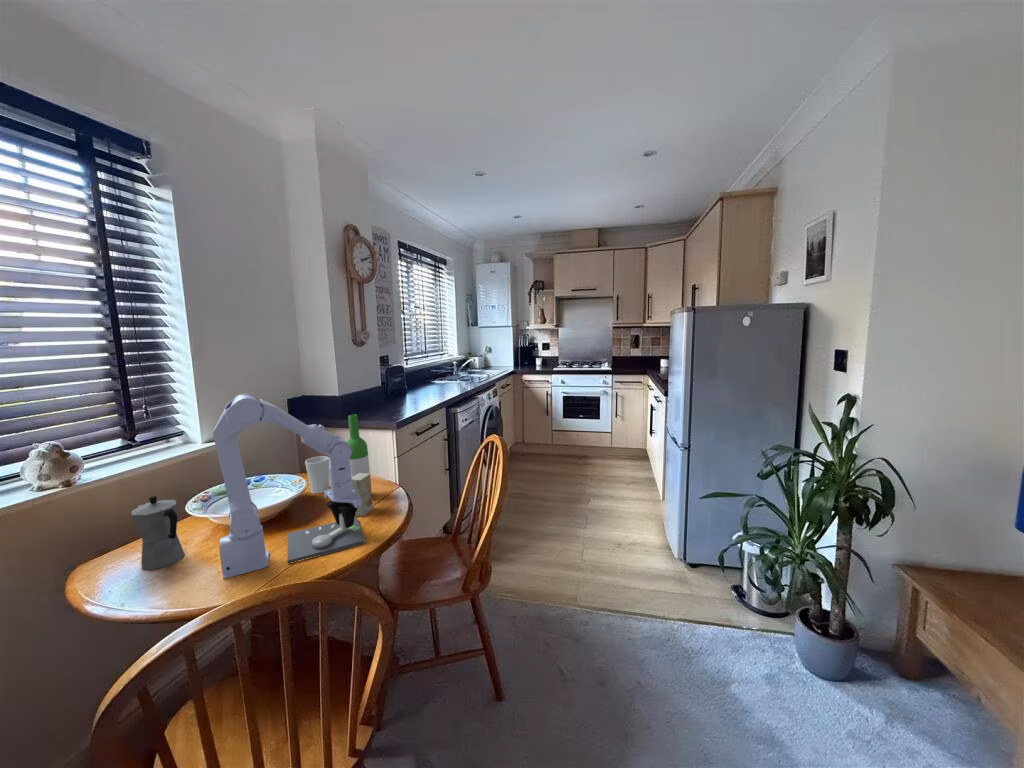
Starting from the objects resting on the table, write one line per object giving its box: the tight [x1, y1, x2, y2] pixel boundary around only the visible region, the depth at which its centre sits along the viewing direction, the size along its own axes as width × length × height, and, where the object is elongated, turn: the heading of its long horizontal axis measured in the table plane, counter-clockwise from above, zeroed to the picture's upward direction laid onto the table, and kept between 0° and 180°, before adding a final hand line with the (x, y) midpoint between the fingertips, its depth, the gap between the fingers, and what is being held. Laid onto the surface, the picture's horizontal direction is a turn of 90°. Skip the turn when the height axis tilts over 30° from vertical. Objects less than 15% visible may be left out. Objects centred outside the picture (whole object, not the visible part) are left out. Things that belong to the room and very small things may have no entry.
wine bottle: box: [345, 413, 371, 477], centre depth 141 cm, size 8×8×30 cm
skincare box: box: [352, 473, 374, 517], centre depth 132 cm, size 6×4×12 cm
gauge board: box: [286, 516, 366, 564], centre depth 115 cm, size 19×16×1 cm
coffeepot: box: [131, 495, 185, 571], centre depth 106 cm, size 15×9×18 cm, turn 67°
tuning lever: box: [312, 513, 349, 548], centre depth 115 cm, size 14×5×5 cm, turn 153°
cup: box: [304, 455, 330, 494], centre depth 150 cm, size 8×8×12 cm
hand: (345, 524), depth 117 cm, fingers open, 3 cm apart
